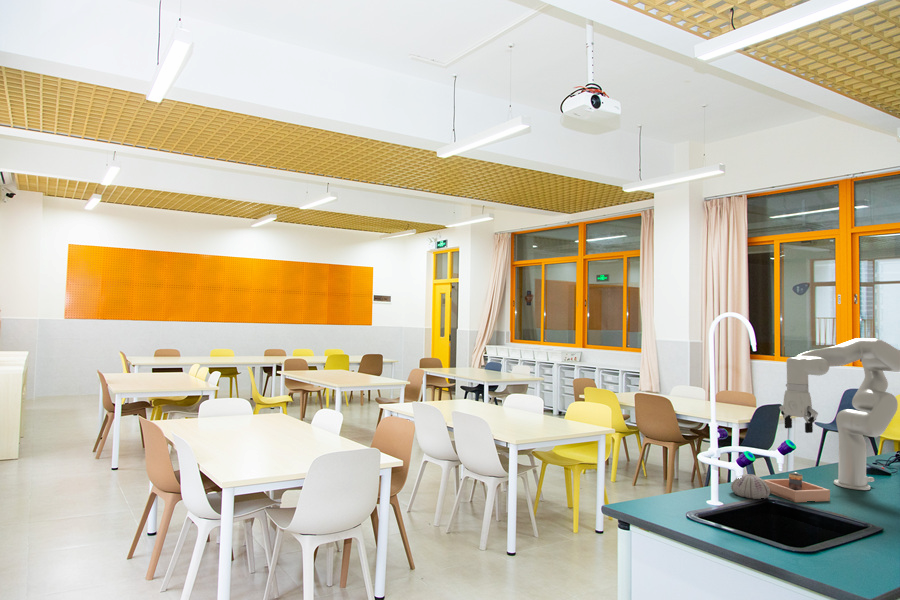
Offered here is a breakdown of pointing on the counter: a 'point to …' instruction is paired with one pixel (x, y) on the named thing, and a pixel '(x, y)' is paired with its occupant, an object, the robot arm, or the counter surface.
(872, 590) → the counter surface
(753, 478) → the sea urchin shell
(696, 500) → the counter surface
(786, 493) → the tray
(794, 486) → the battery cell
